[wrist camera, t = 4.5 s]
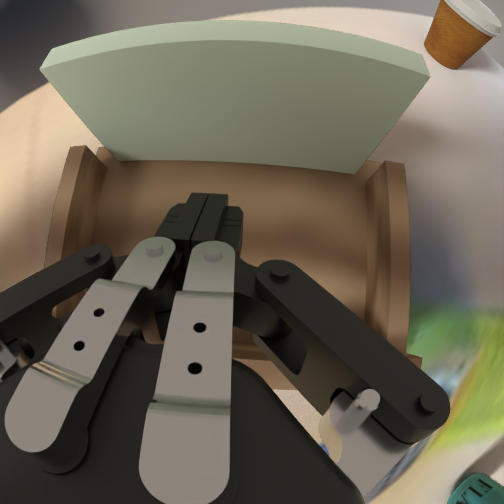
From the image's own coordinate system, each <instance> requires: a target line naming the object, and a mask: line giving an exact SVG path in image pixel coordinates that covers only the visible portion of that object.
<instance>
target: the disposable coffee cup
mask: <svg viewBox="0 0 504 504" xmlns="http://www.w3.org/2000/svg"><path fill="white" fill-rule="evenodd" d="M501 27H502V24H501V22H500V20H499V19H498V18H497V16H496V15H494V13H493V12H492V11H491V10H490V9H489V8H488V7H487V6H486V5H485V4H484V3H482V2H481V1H480V0H441V1H440V3H439V6H438V9H437V12H436V14H435V17H434V19H433V22H432V24H431V27H430V30H429V32H428V35H427V37H426V40H425V42H424V45H425V48H426V50H427V51H428V53H429V54H430V55H431V56H432V57H433V58H434V59H435V60H436V61H438V62H439V63H440V64H442V65H444V66H446V67H447V68H450V69H457V68H458V67H460V66H461V65H462V64H463V63H464V62H465V61H466V60H468V59H469V58H470V57H471V56H472V55H473V54H474V53H476V52H477V51H478V50H479V49H480V48H481V47H483V45H485V44H486V43H487V42H488V41H489V40H490V39H492V38H493V37H496V36H499V35H500V29H501Z"/></svg>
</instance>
